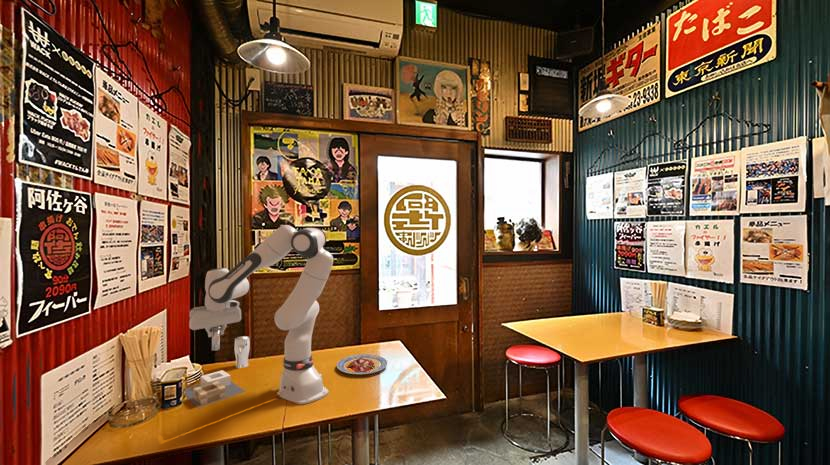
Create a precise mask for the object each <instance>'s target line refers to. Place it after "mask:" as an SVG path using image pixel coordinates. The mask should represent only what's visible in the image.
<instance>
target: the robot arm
mask: <svg viewBox="0 0 830 465" xmlns="http://www.w3.org/2000/svg"><path fill="white" fill-rule="evenodd" d="M326 243H327V236H326V233H325V232H324V231H323V230H322V229H320V228H318V227H305V228H302V229H299V230H297V229H296V228H295V227H293V226H291V225H289V224H283V225H281V226H280V227H278V228H276V229H275V230H274V231H273V232H271V233H270V234H269V235H268V236H267V237H266V238H265V239H264V240H263V241H261V243H260V244H258V246H256V248H255V249H253V250H252V251H251V252H250V253H249V254H248V255H247V256H246V257H244V258H243V259H241V261H240V262H238V263H237V264H236V265H235V266H234V267H232V268H231V269H230V270H229V269H228V268H227V267H220V268H219V267H218V268H212V269H210V270H208V271H207V273H206V275H205V281H204V283H205V284H204V289H205V295H204V296H205V297H204V306H198V307H197V306H195V307H193V308H191V309H190V310H189V312H188V313H189V322H188V324H189V325H188V327H189V329H191V330H192V331H197V330H202V329H205V331H206V333H207V336H208V338H212V337H213V332H212V331H211V327H213V326H221V329H220V336H222V335H224V334H225V330H226V328H227V326H228V324H234V323H239V322H241V320H242V310H241V308H240V302H239V301H237V300H235V299H237V298H240V297H243V296H244V295H246V294H248V293H249V290H250V286H251V285H250V282H249V279H248V277H249V276H250V275H251V274H253V273H254V272H257V271H258V270H261V269H265V268H268V267H272V266H274V265H275V264H277V263H279V262H281V261H282V259H284V258H285V257H286V256H287V255H288V254H290V252H291V251H292V250H293V251H294V252H296V253H297V254H298V255H300V257H302V258H303V259H305V260H306V263H305V265H304V268H303V270H302V272H301V274H300V277H299V278H298V280H297V282H296V285H295V287H294V288H293V290H292V291H291V293H290V294H289V295H288V296H287V298H286V300H285V301H284V303H283V304H282V305H281V306H280V307H279V309H277V310H276V312H275V313H274V316H273V317H274V318H273V319H274V323H275V325H276V326H277V328H278V329H280V330H281V331H288V333H287V335H286V337H285V339H284V357H283V360H282V366H283V370H282V373H281V375H280V379H279V381H280V382H279V390H277V392H276V394H277V395H279V396H277V397H278V398H282V399H284V400H286V401H290V402H292V403H295V404H297V405H305V404H310V403H312V402H315V401H318V400H320V399H323V398H324V397H326V396H327V395H329V392H330V391H329V389H327V388H326V386H324V384H323V383H324V382H323V374H322V373H319V372H318V370H317V368H315V365H314V364H315V360H314V358H313V356H312V338H313V336H312V335H313V331H314V327H315V324H316V319H317V316H318V315H319V312H320V305H319V302H318V301H317V299H318V298H319V297H321V294H322V293H323V291H324V287H325V285H326V284H327V281H328V279H329V277H330V274H331V271H332V269H333V268H332V267H333V265H334V256H333V255H332V254H331V252H329V251H328V250H326V249H324V246H326Z"/></svg>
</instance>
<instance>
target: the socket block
mask: <svg viewBox="0 0 830 465" xmlns="http://www.w3.org/2000/svg"><path fill="white" fill-rule="evenodd" d="M231 379H232V378H231V374H229V373H227V372H226V371H225V370H223V369H222V370H217V371H214V372H211V373H207V374H203V375H201V376H200V384H201V386H202V385H206V384H209V383H212V382H215V381H218V382H219V383H221V384H222V385H223V386H227V385H231V381H232V380H231Z"/></svg>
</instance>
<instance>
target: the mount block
mask: <svg viewBox="0 0 830 465" xmlns="http://www.w3.org/2000/svg"><path fill="white" fill-rule="evenodd" d="M224 397H226V387H225V386H223V385H222V384H221V383H219V382H218V381H215V382H212V383H209V384H206V385H202V386H199V387H196V388H193V398H194V399H195V400H196V401H197V402H198V403H199V404H200V405H204V404H207V403H210V402H213V401H216V400H218V399H221V398H224ZM216 402H217V401H216ZM213 403H214V402H213Z"/></svg>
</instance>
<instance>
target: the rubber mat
mask: <svg viewBox="0 0 830 465" xmlns="http://www.w3.org/2000/svg"><path fill="white" fill-rule="evenodd" d="M199 386H201V383H200V384H195V385H193V386H189V387H186V389H185V388H184V389H185V393H184V394H183V395H184V396H185V397H186V398H187V399H188V400H189V401H190V402H191V403H192V404H193V406H195V407H196V408H197V409H199V408H202V407H204V406H207V405H210V404H213V403H216V402H218V401H221V400H224V399H228V398H230V397H233V396H236V395H240V394H241V393H244V392H246V390H244V389H243V388H241V387H240V386H239V385H237V384H236V383H234V382H233V381H232V380H231V385H227V386H225V387H226V397H224V398H221V399H218V400H216V401H213V402H210V403H207V404H204V405H200V404H199V403H198V402H197V401H196V400H195V399H194V398H193V388H196V387H199Z"/></svg>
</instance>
